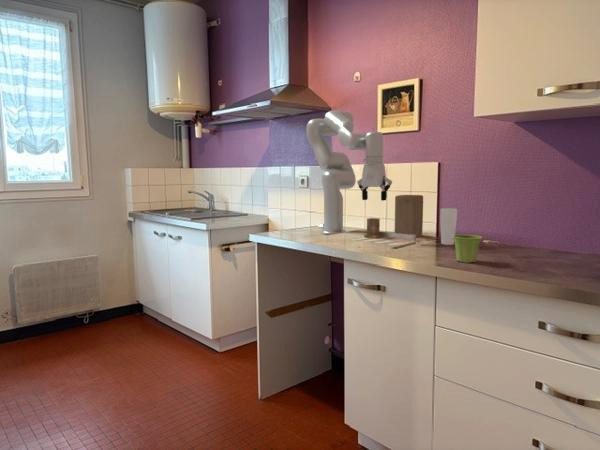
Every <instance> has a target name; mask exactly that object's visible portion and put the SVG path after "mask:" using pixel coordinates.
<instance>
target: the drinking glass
mask: <svg viewBox="0 0 600 450" xmlns="http://www.w3.org/2000/svg"><path fill="white" fill-rule="evenodd" d="M439 210H440V211H439V223H440V225H439V226H440V243H441V245H443V246H444V245H445V246H453V245H455V242H454V237H452V236H453V235H456V229H457V220H458V208H450V207H448V208H447V207H446V208H444V207H443V208H440V209H439Z"/></svg>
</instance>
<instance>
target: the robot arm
mask: <svg viewBox="0 0 600 450" xmlns="http://www.w3.org/2000/svg"><path fill="white" fill-rule="evenodd" d="M354 129H355V125H354V117H353V115H352V113H351V112H349V111H348V110H338V109H337V110H336V109H334V110H329V111H327V112H326V113H325V115H324V118H312V119H310V120H309V121H308V123H306V129H305V131H306V132H305V134H306V138H307V140H308V143H309V145H310V146H311V148H312V149H313V152H314V155H315V158H316V160H317V162H318V165H319V168H320V169H321V170H322V171H324V173H323V174H322V177H321V183H322V188H323V203H324V204H323V206H324V207H323V223H320V225H318V228H319V229H322V230H321V231H320V233H321V234H322V235H329V236H330V235H332V236H333V235H338V234H344V233H347V230H344V196H343V194H342V191H341V190H349V189H352V188H353V187H355V185H356V183H357V185H358V188H359V189H360V191H361V197H362V198H361V199H362V201H367V200H368V198H369V197H368V196H369V195H368V193H369V192H368V189H369V188H380V190H381V192H380V200H381V201H383V202H384V201H387V197H388V196H387V195H388V193H387V192H388V191H389V189H390V188H391V185H392V184H393V181H392V179H390V178H388V177H387V175H386V173H387V172H386V166H385V163H384V134H383V133H382V132H381V131H370V132H367V133H365V132H364V133H363V132H354ZM323 136H324V137H323ZM325 137H338V138H337V139H338V142H339V143H340V144H341V145H342V146H343V147H345V149H348V150H350V151H365V158H364V159H363V162H365V163H364V164H363V167H362V174H361V175H362V176H361V179H359V180H357V179H356V175H355V171H354V169H353V167H352V164H351V161H350V159H349V157H348V155H346V153H344V152H339V151H334V150H332V148H331V145H330V144H329V142H328V141H327V140H326V139H325ZM356 180H357V181H356Z"/></svg>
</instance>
